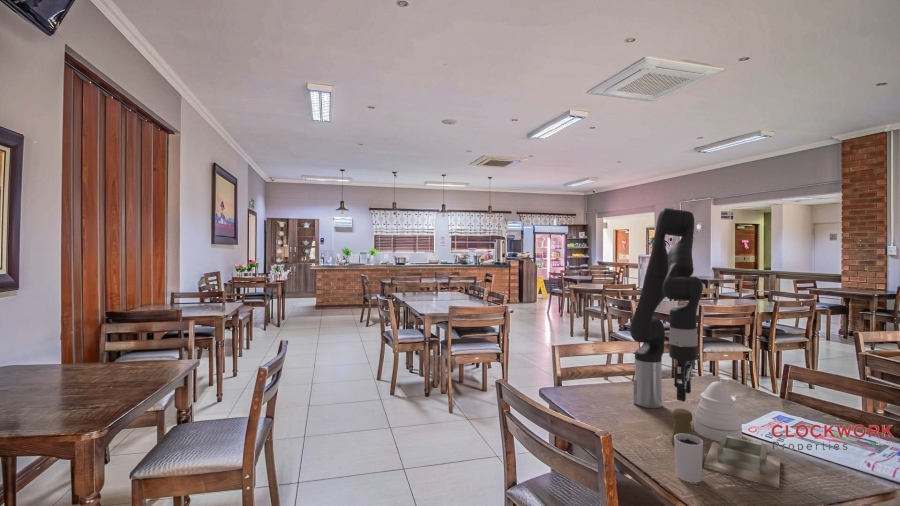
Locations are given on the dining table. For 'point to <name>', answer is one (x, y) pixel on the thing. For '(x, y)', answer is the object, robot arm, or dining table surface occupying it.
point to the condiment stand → (744, 460)
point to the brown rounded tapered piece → (681, 422)
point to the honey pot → (717, 413)
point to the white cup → (688, 457)
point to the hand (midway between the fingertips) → (684, 396)
